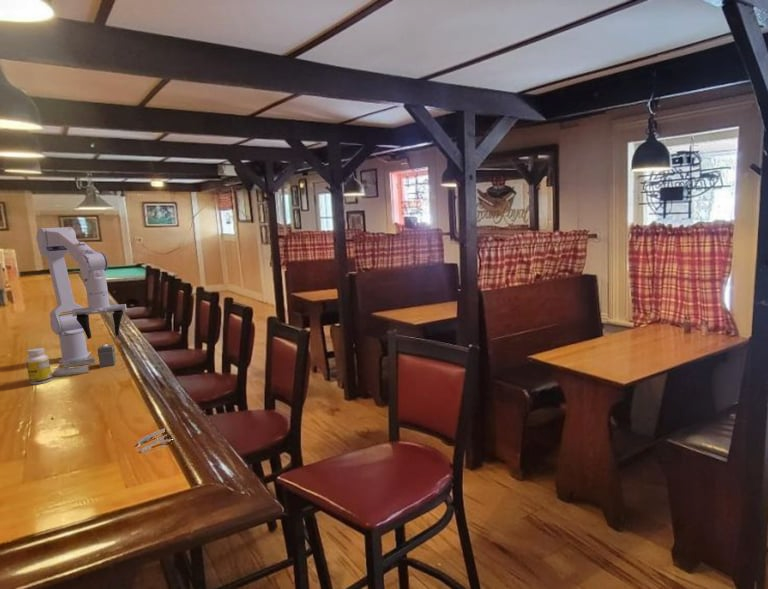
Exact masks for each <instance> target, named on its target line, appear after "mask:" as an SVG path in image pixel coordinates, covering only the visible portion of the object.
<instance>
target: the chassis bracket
mask: <svg viewBox="0 0 768 589" xmlns="http://www.w3.org/2000/svg"><path fill="white" fill-rule="evenodd" d="M93 363H94V364H96V357H87V358H85V359H77V360H70V361H63V362H60V364H59V365H58V366H57V368H55V370H54V371H53V377H54V378H57V377H59V378H60V377H65V376H71V375H72V376H73V375H78V374H87V373H90V371H89V370H90V365H94V364H93ZM86 364H87V365H86ZM86 372H87V373H86Z"/></svg>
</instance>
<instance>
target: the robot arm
mask: <svg viewBox="0 0 768 589" xmlns="http://www.w3.org/2000/svg"><path fill="white" fill-rule="evenodd" d="M35 238H36V243H37V247H38V251H39V253H40V255H42V256H44V257H45V258H46V261H47V265H48V268H49V274H50V277H51V282H52V287H53V290H54V291H53V292H54V294H55V300H56V303H57V305H56V306H55V307H54V308H53V309H52V310H51V311H50V313H49V317H50V318H49V319H50V320H49V321H50V322H49V323H50V324H49V325H50V329H51V331H52V332H53V333H54V334H55V335H58V339H59V344H60V345H59V346H60V351H61V352H60V353H61V358H60V359H59V361H58V363H62V362H63V361H70V360H77V359H85V358H89V356H90V354H91V353H92V351H88V347H87V346H88V345H87V344H88V343H87V340H90V339H91V338H92V332H91V327H90V316H89V315H97V314H109V313H112V320H113V324H114V333H115V336H116V337H117V336H120V325H121V321H122V318H123V315H124V312H126V311H127V310H128V309H127V304H126V303H124V304H123V303H122V304H110V296H109V290H108V283H107V275H106V271H107V270H108V267H109V261H108V258H107V255H106V254H105V253H104V252H103V251H98V252H97V251H95V250H94V249H92V247H90V246H89V245H88V244H87V243H86V242H85V241H79V240H78V239H77V234H76V231H75V229H74V228H73V227H71V226H67V227H66V226H63V227H61V226H60V227H48V228H47V227H45V228H43V227H39V228H38V229H37V231H36V237H35ZM67 254H69V256H70V257H71V258H72V259H73V261H75V262H77V263H78V267H79V268H78V269H79V271H80V272H81V277H82V280H84V284H85V294H86V299H87V305H88V306H87V307H84V306H82V305H81V304H79V303H77V302H75V298H74V295H73V291H72V286H71V282H70V277H69V272H68V269H67V263H66V259H65V256H66V255H67Z"/></svg>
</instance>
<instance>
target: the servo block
mask: <svg viewBox="0 0 768 589" xmlns="http://www.w3.org/2000/svg"><path fill="white" fill-rule="evenodd" d="M114 346H115V345H114V344H107V343H104V344H101V345H99V346H98V347H97V357H98V363H99V368H106V367H112V366H113V367H114V366H115V365H116V363H117V361H116V353H115V350H116V349H115V347H114Z"/></svg>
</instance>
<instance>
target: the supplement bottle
mask: <svg viewBox="0 0 768 589" xmlns="http://www.w3.org/2000/svg"><path fill="white" fill-rule="evenodd" d="M45 351H46V350H45V348H44V347H41V346H40V347H33V348H30V349H27V355H28V356H29V357H27V358H26V360H25V361H26V368H27V374H28V380H29V383H30V385H42V384H47V383H49V382H51V381H52V380H53V377H52V370H51V364H50V357H49V355H47V354H45V353H46V352H45Z"/></svg>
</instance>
